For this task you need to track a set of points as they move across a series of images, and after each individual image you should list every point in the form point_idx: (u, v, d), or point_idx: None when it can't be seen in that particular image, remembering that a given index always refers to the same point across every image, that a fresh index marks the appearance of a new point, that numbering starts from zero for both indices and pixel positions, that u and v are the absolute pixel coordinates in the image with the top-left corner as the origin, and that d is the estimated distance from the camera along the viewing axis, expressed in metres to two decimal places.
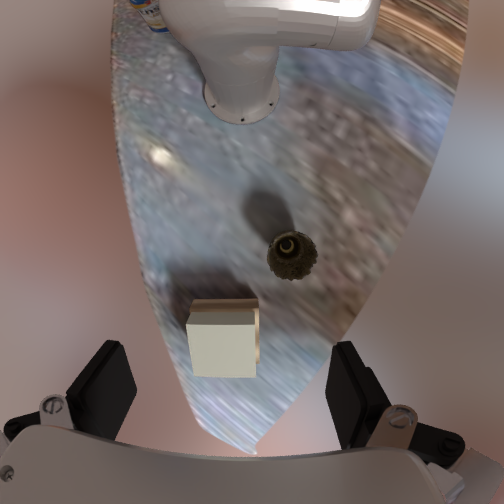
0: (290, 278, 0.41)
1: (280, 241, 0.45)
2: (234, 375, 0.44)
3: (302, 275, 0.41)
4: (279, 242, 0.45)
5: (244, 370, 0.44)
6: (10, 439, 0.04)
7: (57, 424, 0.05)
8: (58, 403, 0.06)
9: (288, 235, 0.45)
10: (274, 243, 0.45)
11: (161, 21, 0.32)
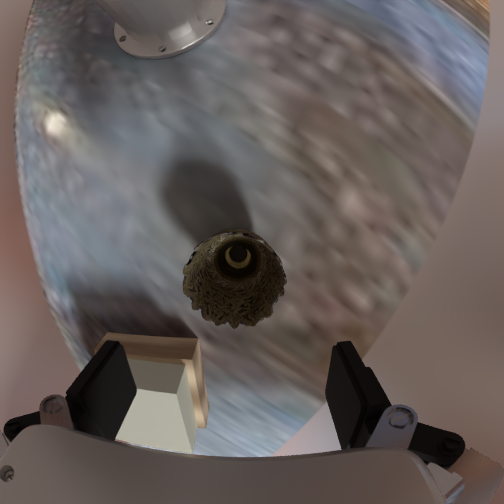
0: (233, 323, 0.21)
1: (223, 248, 0.25)
2: (161, 447, 0.24)
3: (257, 318, 0.21)
4: (222, 250, 0.25)
5: (173, 444, 0.24)
6: (10, 439, 0.04)
7: (57, 424, 0.05)
8: (58, 403, 0.06)
9: (237, 238, 0.24)
10: (211, 252, 0.24)
11: None
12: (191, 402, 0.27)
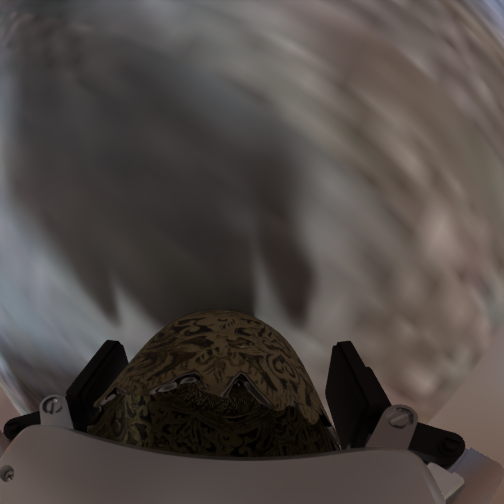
0: None
1: None
2: None
3: None
4: None
5: None
6: (10, 439, 0.04)
7: (57, 424, 0.05)
8: (58, 403, 0.06)
9: None
10: None
11: None
12: None
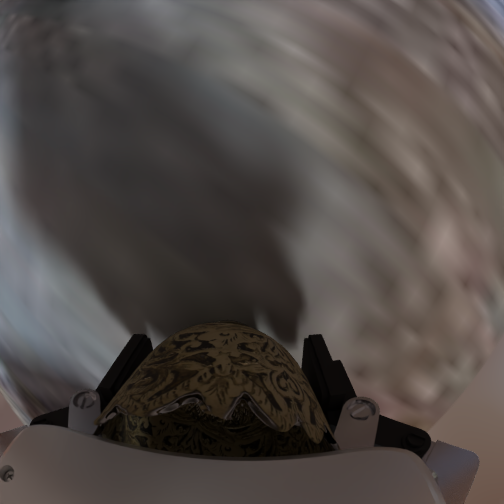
0: None
1: None
2: None
3: None
4: None
5: None
6: None
7: (85, 420, 0.06)
8: (90, 398, 0.07)
9: None
10: None
11: None
12: None
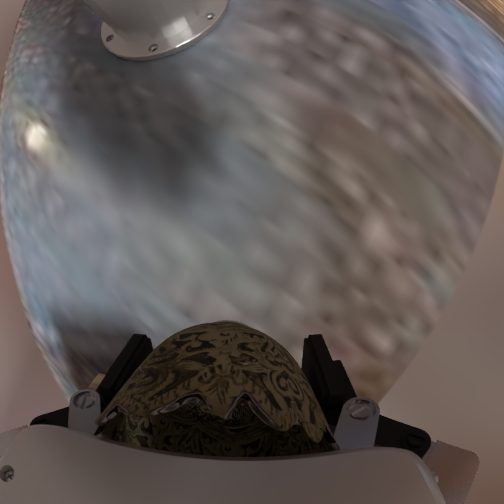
0: None
1: None
2: None
3: None
4: None
5: None
6: None
7: (85, 420, 0.06)
8: (90, 398, 0.07)
9: None
10: None
11: None
12: None
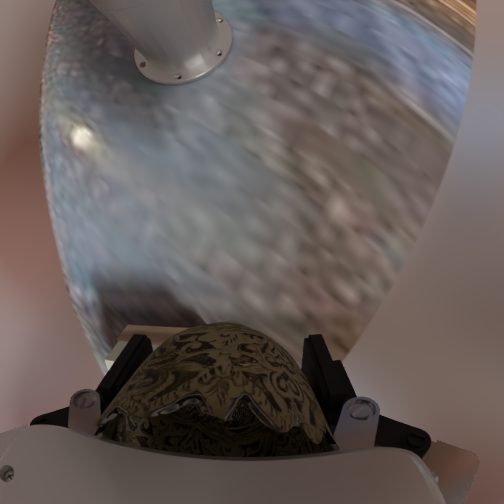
0: None
1: None
2: None
3: None
4: None
5: None
6: None
7: (85, 420, 0.06)
8: (90, 398, 0.07)
9: None
10: None
11: None
12: None
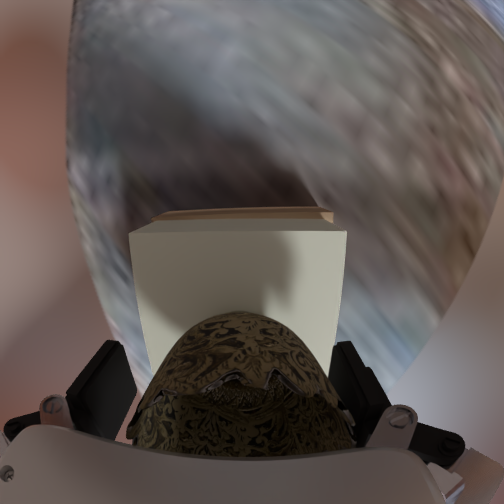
0: None
1: None
2: None
3: None
4: None
5: None
6: (10, 439, 0.04)
7: (57, 424, 0.05)
8: (58, 403, 0.06)
9: None
10: None
11: None
12: None
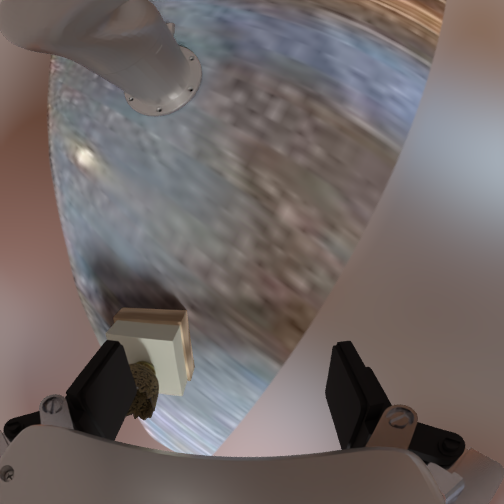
0: (135, 415, 0.30)
1: None
2: (160, 391, 0.38)
3: (146, 415, 0.30)
4: None
5: (169, 388, 0.38)
6: (10, 439, 0.04)
7: (57, 424, 0.05)
8: (58, 403, 0.06)
9: None
10: None
11: None
12: (183, 356, 0.41)
